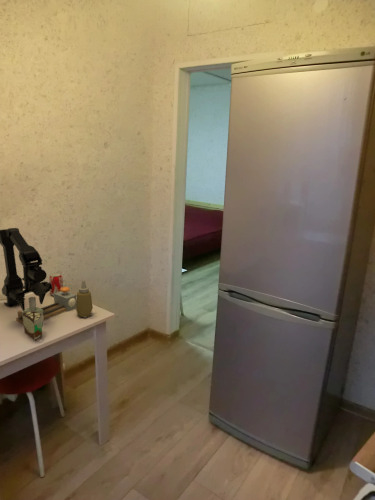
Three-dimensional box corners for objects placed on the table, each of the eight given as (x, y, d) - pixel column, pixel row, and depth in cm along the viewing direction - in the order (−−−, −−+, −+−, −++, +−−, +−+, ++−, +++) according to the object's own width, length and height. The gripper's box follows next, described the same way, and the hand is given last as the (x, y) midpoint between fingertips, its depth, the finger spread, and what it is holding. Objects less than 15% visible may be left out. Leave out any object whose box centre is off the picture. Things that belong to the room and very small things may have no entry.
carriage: (22, 313, 164) (21, 298, 162) (34, 309, 169) (33, 294, 167) (31, 317, 161) (30, 302, 158) (43, 313, 165) (42, 298, 163)
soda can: (59, 297, 192) (58, 277, 188) (47, 296, 193) (46, 275, 190) (65, 293, 198) (64, 273, 195) (54, 291, 200) (53, 271, 196)
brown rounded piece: (58, 296, 178) (58, 288, 177) (65, 293, 182) (65, 286, 181) (64, 298, 176) (64, 290, 175) (71, 295, 180) (71, 288, 179)
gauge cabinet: (54, 306, 181) (53, 293, 179) (64, 302, 186) (63, 290, 184) (67, 311, 175) (67, 298, 174) (77, 307, 180) (76, 295, 179)
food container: (50, 337, 150) (48, 316, 148) (36, 342, 146) (34, 320, 143) (36, 327, 158) (35, 307, 155) (23, 332, 153) (21, 311, 151)
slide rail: (16, 321, 163) (15, 312, 162) (55, 306, 181) (55, 298, 180) (27, 326, 158) (27, 317, 157) (67, 310, 176) (66, 302, 175)
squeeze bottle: (75, 312, 175) (74, 278, 170) (92, 310, 178) (91, 277, 173) (76, 319, 168) (75, 284, 163) (93, 317, 170) (92, 283, 166)
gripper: (22, 285, 148) (24, 318, 152) (58, 274, 163) (60, 305, 167) (7, 279, 154) (9, 311, 158) (44, 269, 169) (45, 299, 173)
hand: (32, 307), depth 164 cm, fingers open, 9 cm apart
